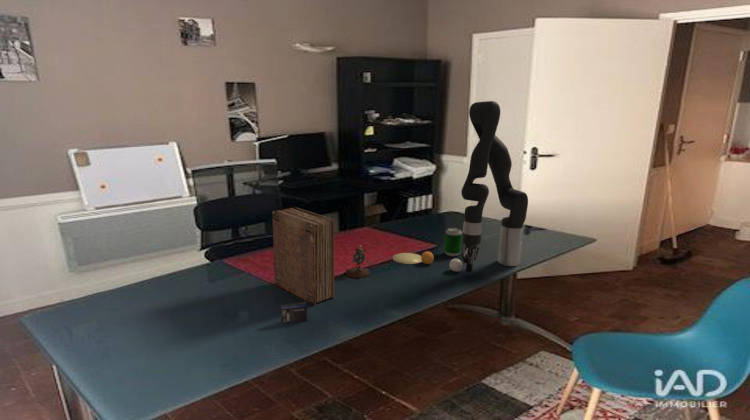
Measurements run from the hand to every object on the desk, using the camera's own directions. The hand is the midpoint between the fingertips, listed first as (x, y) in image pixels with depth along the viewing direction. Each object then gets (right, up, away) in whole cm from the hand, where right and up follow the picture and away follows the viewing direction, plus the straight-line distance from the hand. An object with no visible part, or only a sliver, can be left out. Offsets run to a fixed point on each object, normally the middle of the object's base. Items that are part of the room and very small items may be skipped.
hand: (468, 271), depth 202 cm
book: (-66, -5, -19) cm, 69 cm away
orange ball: (-16, +5, +12) cm, 20 cm away
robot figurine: (-46, -1, -1) cm, 46 cm away
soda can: (-3, +5, +25) cm, 26 cm away
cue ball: (-5, +2, +4) cm, 7 cm away
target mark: (-24, +4, +18) cm, 31 cm away
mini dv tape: (-66, -11, -42) cm, 79 cm away
